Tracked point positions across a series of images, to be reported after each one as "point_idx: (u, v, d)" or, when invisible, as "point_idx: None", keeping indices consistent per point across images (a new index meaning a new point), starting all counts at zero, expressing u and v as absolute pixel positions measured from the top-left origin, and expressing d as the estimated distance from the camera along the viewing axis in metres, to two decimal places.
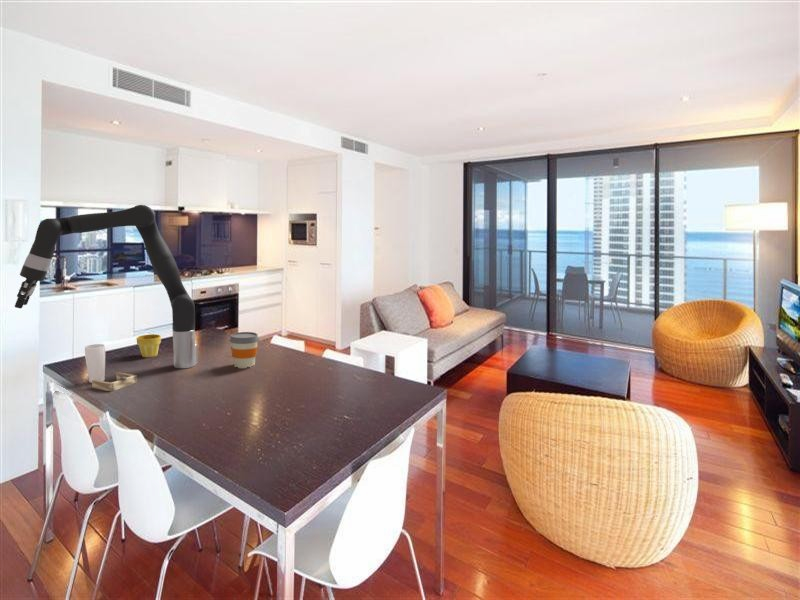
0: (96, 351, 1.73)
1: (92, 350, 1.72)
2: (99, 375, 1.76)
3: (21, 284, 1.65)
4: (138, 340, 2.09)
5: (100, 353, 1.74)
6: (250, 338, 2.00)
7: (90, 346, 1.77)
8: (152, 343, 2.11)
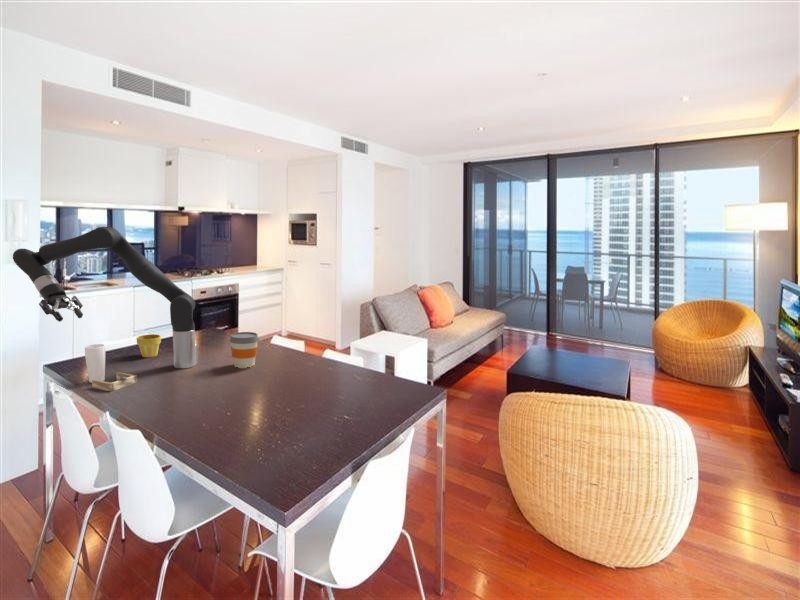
0: (96, 351, 1.73)
1: (92, 350, 1.72)
2: (99, 375, 1.76)
3: None
4: (138, 340, 2.09)
5: (100, 353, 1.74)
6: (250, 338, 2.00)
7: (90, 346, 1.77)
8: (152, 343, 2.11)
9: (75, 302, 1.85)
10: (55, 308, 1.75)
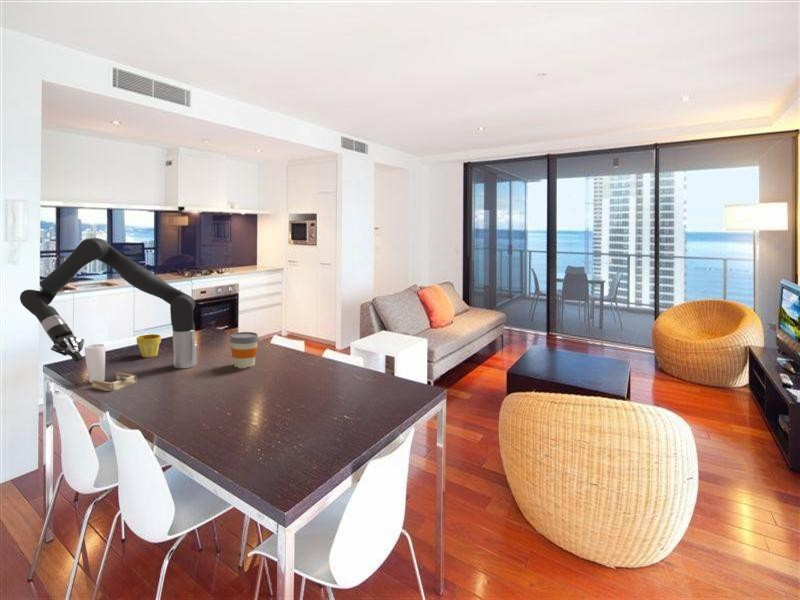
0: (96, 351, 1.73)
1: (92, 350, 1.72)
2: (99, 375, 1.76)
3: None
4: (138, 340, 2.09)
5: (100, 353, 1.74)
6: (250, 338, 2.00)
7: (90, 346, 1.77)
8: (152, 343, 2.11)
9: (79, 344, 1.83)
10: (71, 349, 1.78)
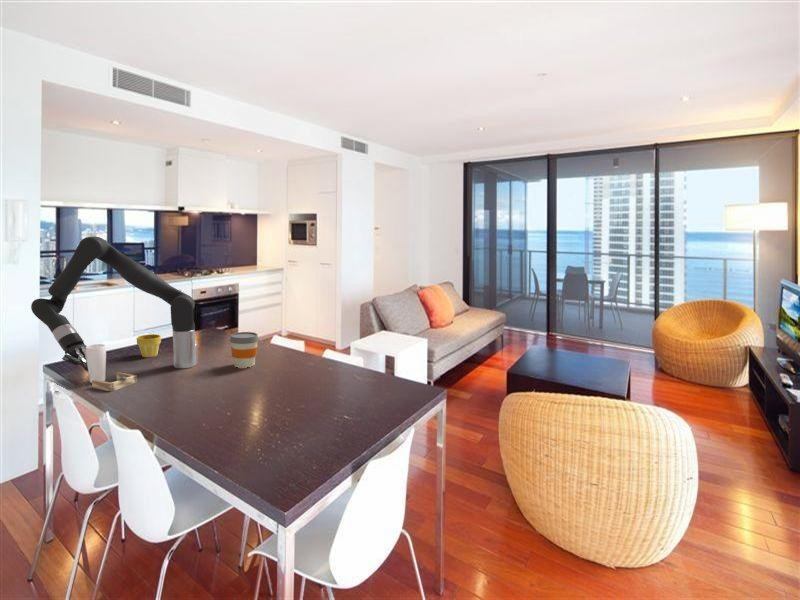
0: (97, 351, 1.73)
1: (93, 350, 1.72)
2: (100, 375, 1.75)
3: None
4: (138, 340, 2.09)
5: (101, 353, 1.74)
6: (250, 338, 2.00)
7: (90, 346, 1.76)
8: (152, 343, 2.11)
9: None
10: (82, 359, 1.77)
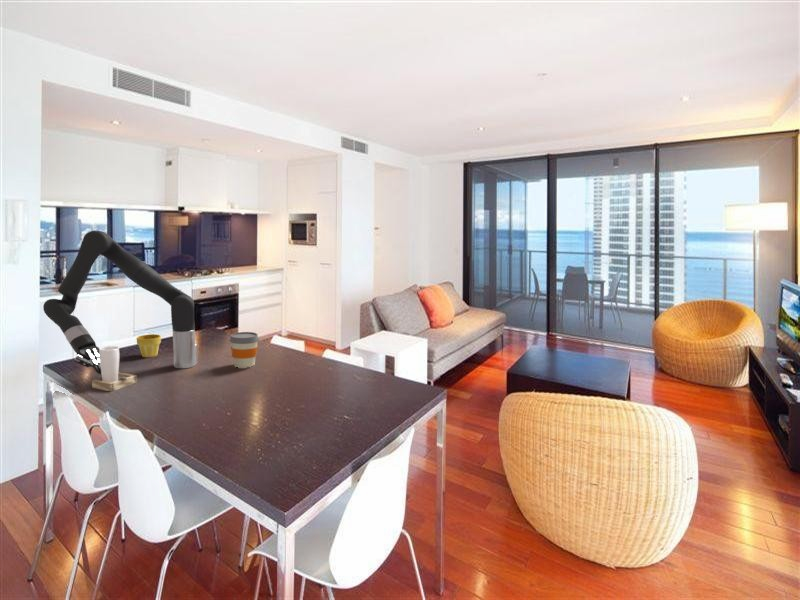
0: (113, 353, 1.72)
1: (109, 353, 1.71)
2: (114, 377, 1.74)
3: None
4: (138, 340, 2.09)
5: (116, 355, 1.73)
6: (250, 338, 2.00)
7: (102, 348, 1.74)
8: (152, 343, 2.11)
9: None
10: (94, 361, 1.74)
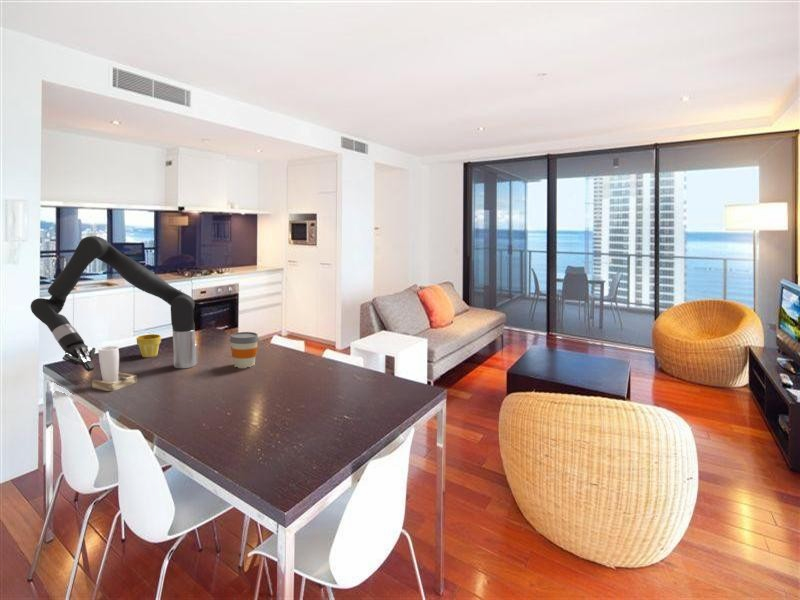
0: (113, 352, 1.72)
1: (108, 353, 1.70)
2: (115, 377, 1.74)
3: None
4: (138, 340, 2.09)
5: (116, 355, 1.73)
6: (250, 338, 2.00)
7: (102, 348, 1.74)
8: (152, 343, 2.11)
9: (90, 353, 1.82)
10: (82, 358, 1.77)
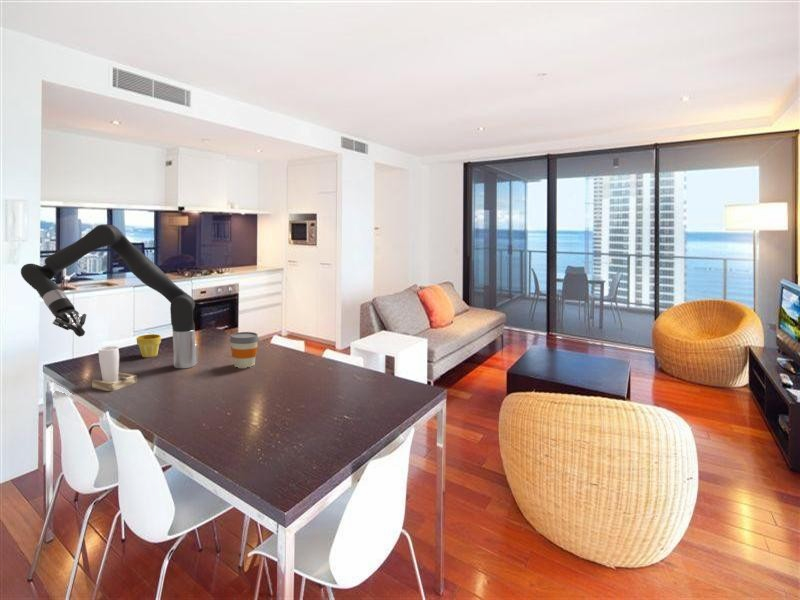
0: (113, 353, 1.72)
1: (109, 353, 1.70)
2: (115, 377, 1.74)
3: None
4: (138, 340, 2.09)
5: (116, 355, 1.73)
6: (250, 338, 2.00)
7: (102, 348, 1.74)
8: (152, 343, 2.11)
9: (81, 319, 1.81)
10: (73, 323, 1.76)
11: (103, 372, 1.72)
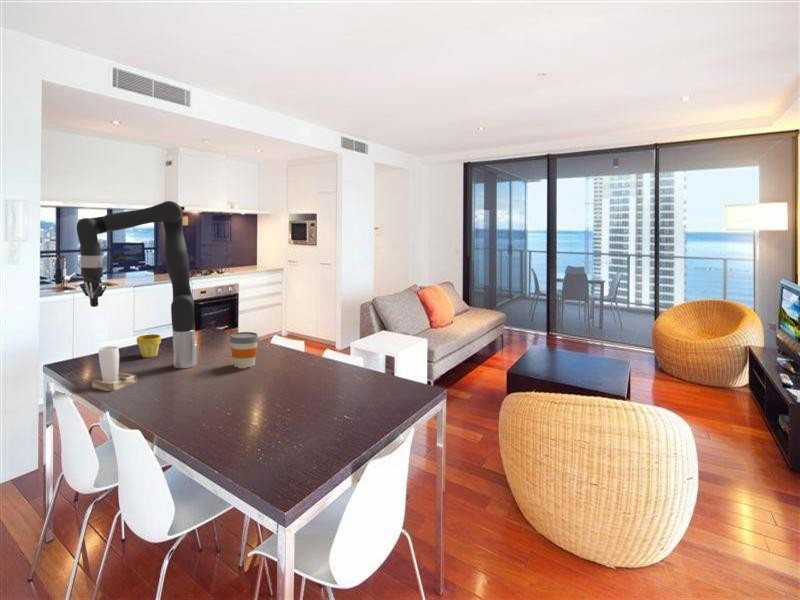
0: (113, 352, 1.72)
1: (109, 352, 1.71)
2: (115, 377, 1.74)
3: (91, 286, 1.81)
4: (138, 340, 2.09)
5: (116, 355, 1.73)
6: (250, 338, 2.00)
7: (102, 348, 1.74)
8: (152, 343, 2.11)
9: None
10: None
11: (103, 372, 1.72)
